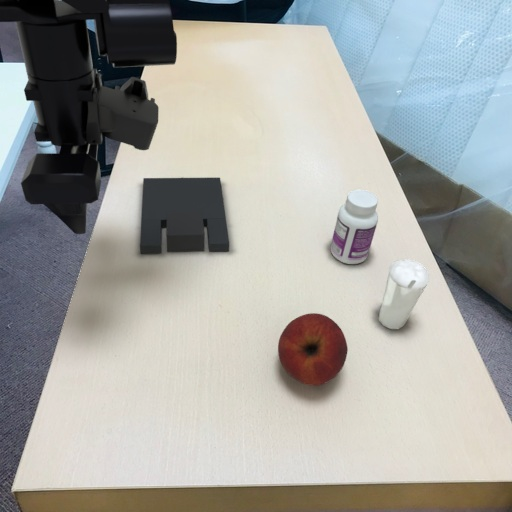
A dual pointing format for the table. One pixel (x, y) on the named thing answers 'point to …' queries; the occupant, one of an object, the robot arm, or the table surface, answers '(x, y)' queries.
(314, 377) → the apple
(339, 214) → the pill bottle
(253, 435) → the table surface
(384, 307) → the milkshake
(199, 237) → the black block
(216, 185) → the base pad
